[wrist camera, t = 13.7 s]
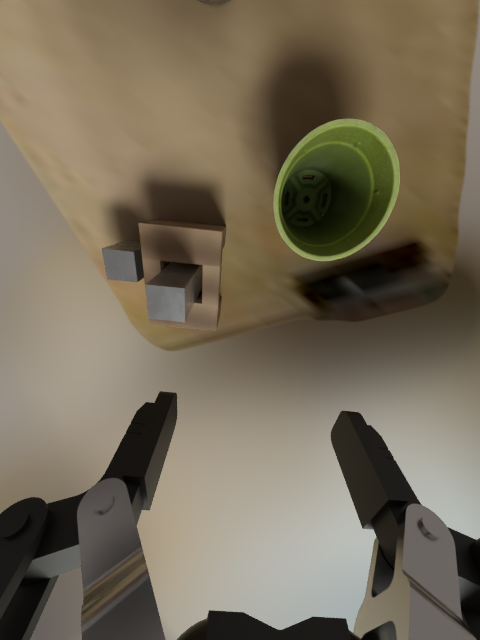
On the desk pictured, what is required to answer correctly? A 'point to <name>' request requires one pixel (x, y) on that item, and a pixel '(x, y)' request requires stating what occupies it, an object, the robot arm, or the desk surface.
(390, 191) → the plant pot
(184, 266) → the tall pin
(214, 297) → the block with rectangular hole
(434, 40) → the desk surface
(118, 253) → the grey rectangular block
